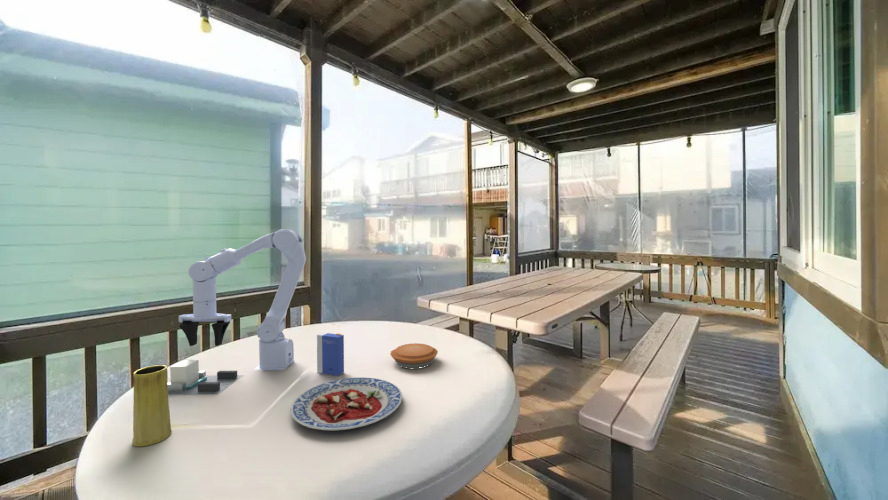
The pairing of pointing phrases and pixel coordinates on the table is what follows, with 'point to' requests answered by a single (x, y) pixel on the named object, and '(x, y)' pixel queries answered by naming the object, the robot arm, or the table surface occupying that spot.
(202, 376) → the port
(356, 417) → the ceramic plate
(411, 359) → the pie
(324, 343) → the walkman
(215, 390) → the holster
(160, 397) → the vase
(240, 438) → the table surface
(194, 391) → the panel
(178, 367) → the plug
